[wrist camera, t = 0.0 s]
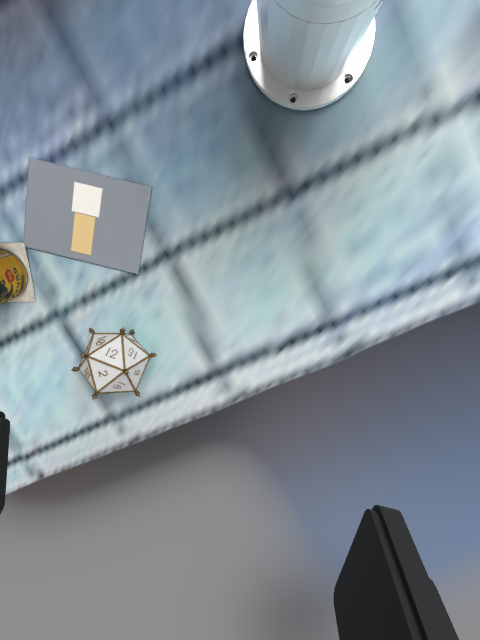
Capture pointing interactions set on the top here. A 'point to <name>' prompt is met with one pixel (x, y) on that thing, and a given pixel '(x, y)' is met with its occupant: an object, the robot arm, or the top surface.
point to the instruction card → (85, 215)
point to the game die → (113, 362)
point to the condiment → (15, 274)
